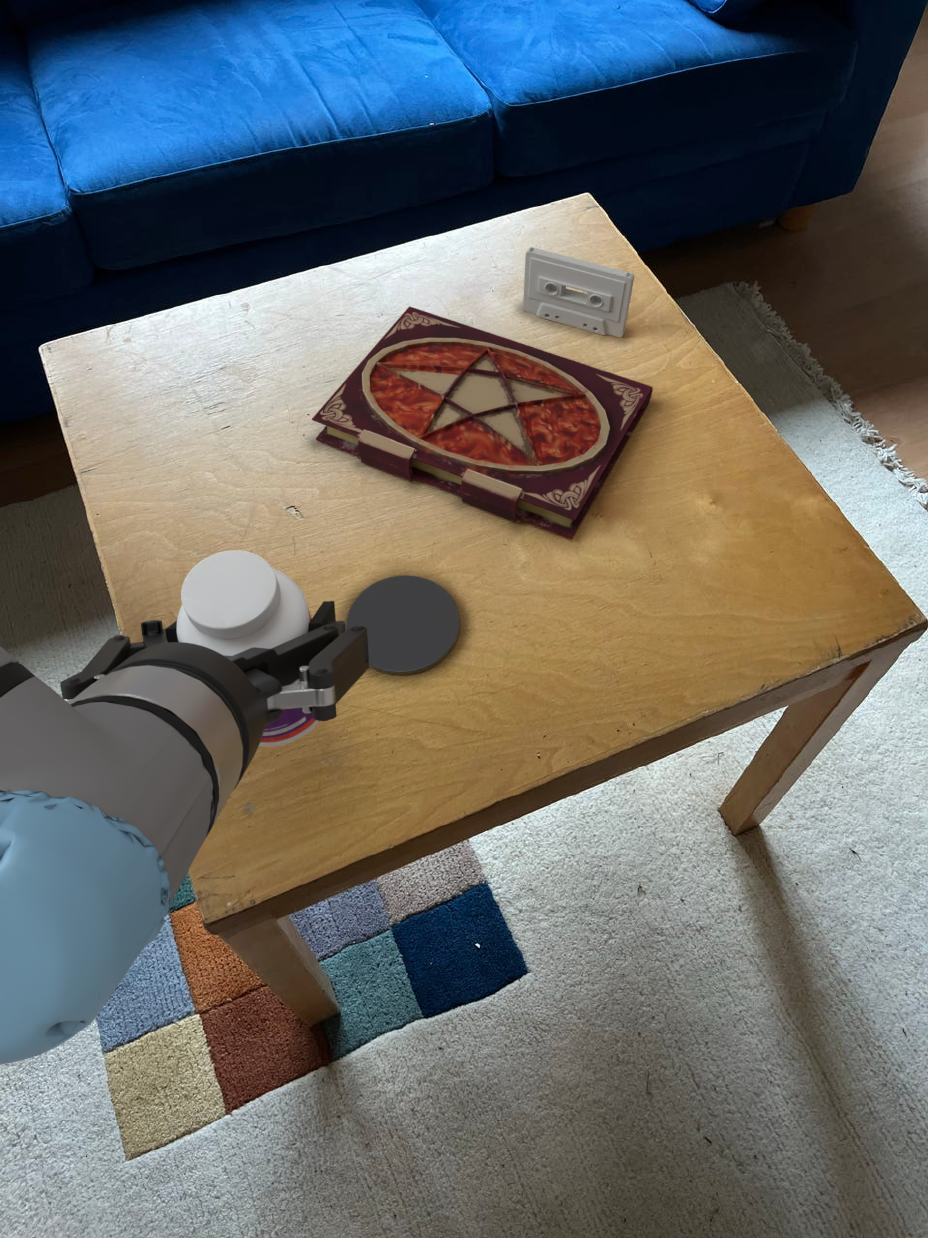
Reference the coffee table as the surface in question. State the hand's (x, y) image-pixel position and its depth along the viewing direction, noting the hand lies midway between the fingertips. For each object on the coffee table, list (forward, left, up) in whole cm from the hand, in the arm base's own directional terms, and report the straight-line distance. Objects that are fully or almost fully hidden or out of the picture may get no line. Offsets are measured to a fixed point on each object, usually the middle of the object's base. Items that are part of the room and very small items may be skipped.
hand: (266, 622), depth 59 cm
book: (+11, +35, -15) cm, 39 cm away
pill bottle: (+1, -3, -5) cm, 6 cm away
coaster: (+7, +10, -15) cm, 19 cm away
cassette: (+19, +52, -15) cm, 57 cm away
